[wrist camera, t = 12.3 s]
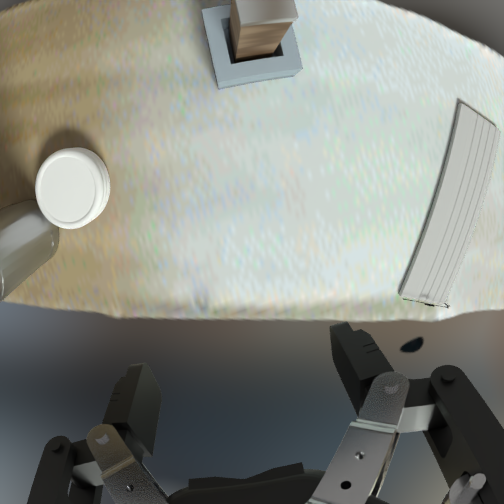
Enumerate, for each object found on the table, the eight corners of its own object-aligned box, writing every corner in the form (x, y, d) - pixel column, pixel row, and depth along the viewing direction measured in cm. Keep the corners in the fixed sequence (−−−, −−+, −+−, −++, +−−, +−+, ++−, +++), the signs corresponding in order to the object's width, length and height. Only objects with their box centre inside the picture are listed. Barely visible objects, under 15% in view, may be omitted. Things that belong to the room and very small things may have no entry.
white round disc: (99, 135, 35) (88, 136, 32) (121, 210, 38) (112, 216, 35) (38, 163, 35) (25, 166, 32) (59, 231, 38) (48, 239, 35)
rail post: (234, 65, 33) (240, 22, 18) (227, 34, 31) (231, -22, 17) (270, 60, 33) (298, 17, 19) (263, 29, 31) (286, -27, 17)
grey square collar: (218, 89, 34) (217, 82, 30) (204, 24, 31) (201, 9, 26) (293, 76, 34) (302, 68, 30) (277, 12, 31) (284, -3, 27)
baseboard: (502, 135, 39) (455, 103, 37) (513, 136, 36) (467, 102, 34) (446, 303, 48) (396, 292, 46) (455, 310, 46) (404, 301, 44)
